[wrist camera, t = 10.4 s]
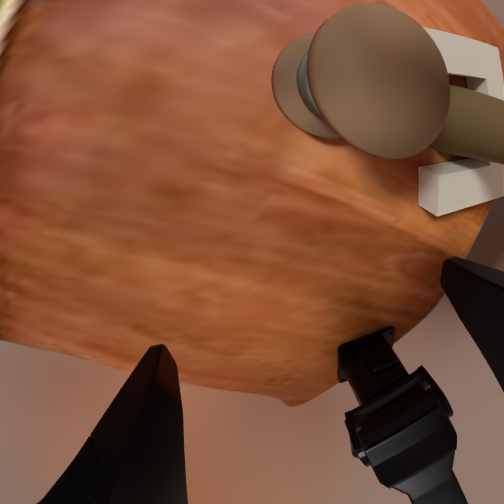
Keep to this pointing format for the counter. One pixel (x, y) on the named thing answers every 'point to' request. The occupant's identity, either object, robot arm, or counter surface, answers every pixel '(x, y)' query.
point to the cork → (473, 126)
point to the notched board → (470, 170)
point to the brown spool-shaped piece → (366, 82)
